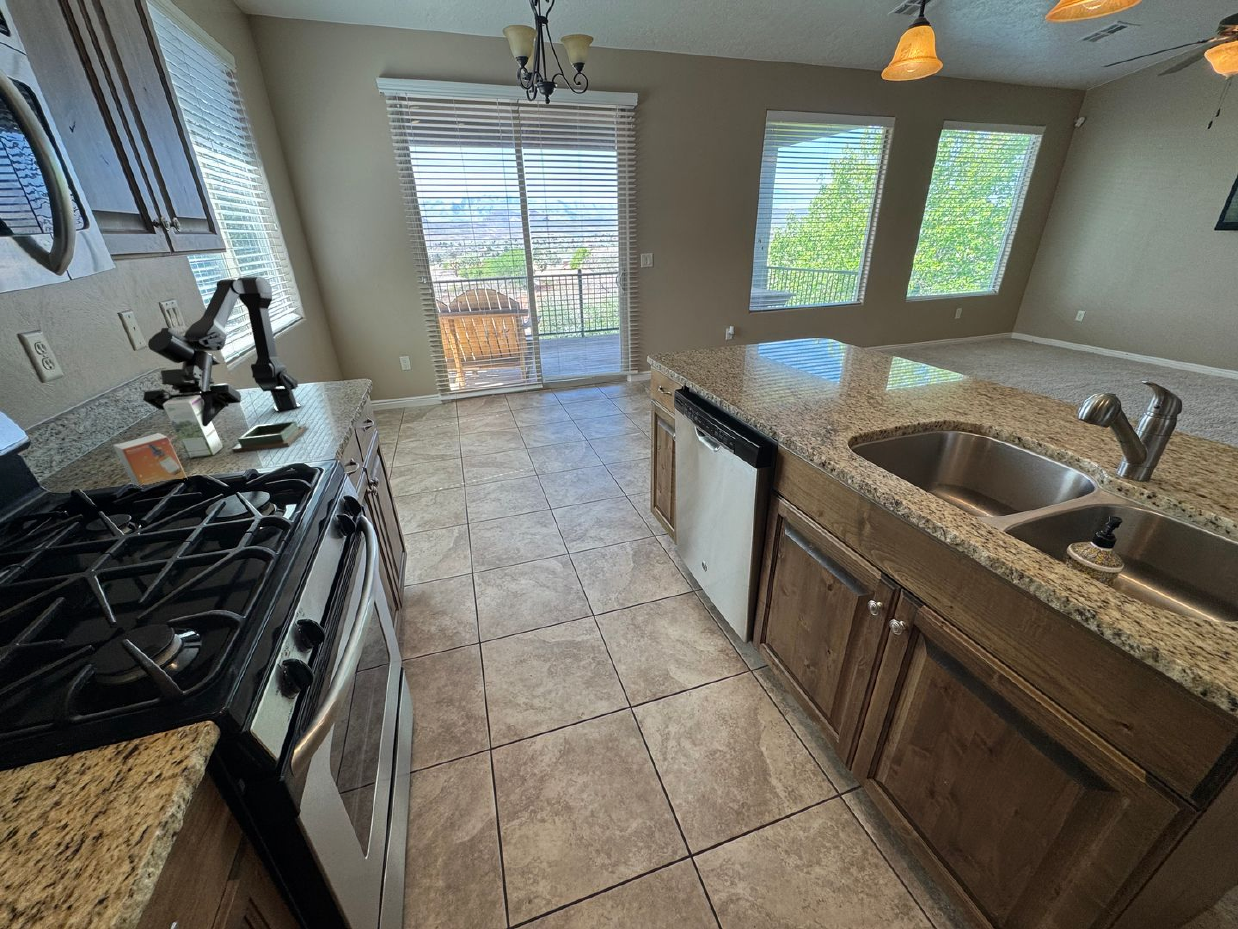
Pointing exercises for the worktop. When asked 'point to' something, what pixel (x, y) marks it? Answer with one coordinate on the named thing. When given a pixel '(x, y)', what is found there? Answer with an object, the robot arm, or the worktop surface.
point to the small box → (150, 460)
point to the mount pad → (269, 436)
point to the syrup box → (192, 426)
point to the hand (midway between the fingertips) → (190, 427)
